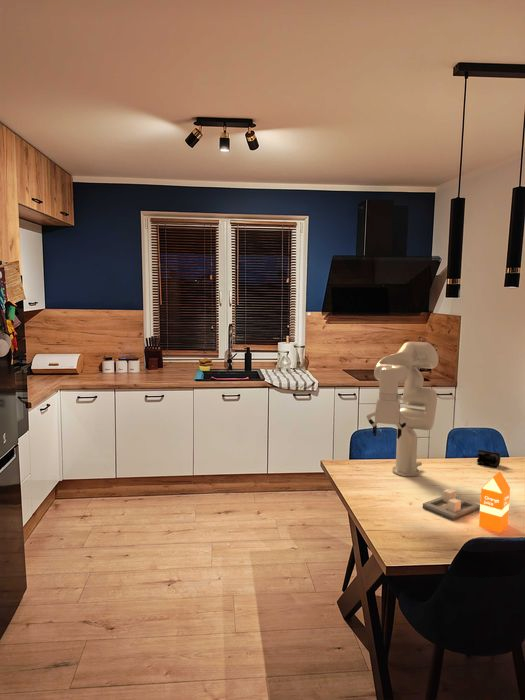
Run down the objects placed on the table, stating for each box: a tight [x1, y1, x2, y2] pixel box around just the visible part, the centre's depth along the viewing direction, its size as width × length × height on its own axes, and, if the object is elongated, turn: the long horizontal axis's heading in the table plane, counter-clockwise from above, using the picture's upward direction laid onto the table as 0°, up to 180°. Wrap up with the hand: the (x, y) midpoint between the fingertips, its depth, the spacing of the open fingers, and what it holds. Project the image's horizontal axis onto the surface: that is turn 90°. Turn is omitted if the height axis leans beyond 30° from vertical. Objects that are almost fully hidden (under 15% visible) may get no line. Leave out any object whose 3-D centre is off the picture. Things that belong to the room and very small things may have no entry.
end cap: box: [476, 449, 502, 469], centre depth 258 cm, size 10×7×7 cm
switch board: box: [422, 495, 480, 522], centre depth 204 cm, size 18×14×2 cm
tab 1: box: [442, 488, 457, 503], centre depth 209 cm, size 4×3×4 cm
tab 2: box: [448, 498, 461, 513], centre depth 199 cm, size 4×3×4 cm
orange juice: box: [478, 471, 511, 533], centre depth 189 cm, size 8×9×20 cm
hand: (386, 436), depth 215 cm, fingers open, 9 cm apart
